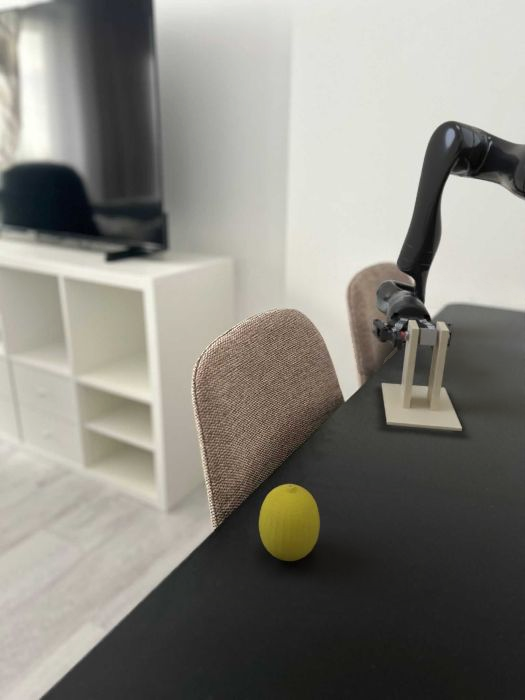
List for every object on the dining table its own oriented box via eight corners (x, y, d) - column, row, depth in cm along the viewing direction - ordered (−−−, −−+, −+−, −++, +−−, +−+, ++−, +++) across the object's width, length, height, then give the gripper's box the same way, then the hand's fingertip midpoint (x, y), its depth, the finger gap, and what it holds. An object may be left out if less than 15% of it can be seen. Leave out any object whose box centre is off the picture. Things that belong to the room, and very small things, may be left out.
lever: (399, 343, 84) (400, 329, 84) (431, 345, 84) (432, 330, 84) (409, 344, 72) (410, 327, 72) (446, 346, 72) (447, 329, 72)
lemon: (276, 531, 52) (278, 462, 49) (327, 551, 49) (332, 479, 46) (247, 565, 47) (247, 491, 44) (300, 590, 44) (304, 512, 42)
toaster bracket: (380, 391, 85) (389, 310, 80) (443, 396, 83) (455, 314, 79) (386, 431, 72) (396, 337, 67) (460, 438, 70) (476, 342, 66)
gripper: (370, 296, 97) (374, 319, 81) (449, 300, 94) (469, 325, 78) (367, 334, 99) (370, 364, 83) (444, 339, 97) (462, 371, 81)
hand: (418, 345), depth 81 cm, fingers closed on lever, 5 cm apart
